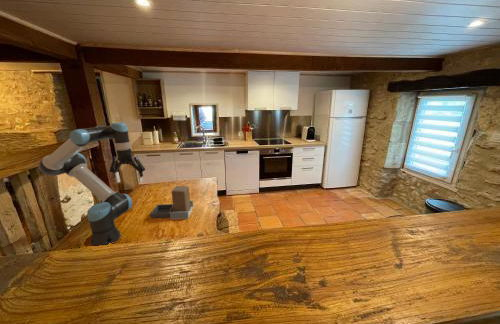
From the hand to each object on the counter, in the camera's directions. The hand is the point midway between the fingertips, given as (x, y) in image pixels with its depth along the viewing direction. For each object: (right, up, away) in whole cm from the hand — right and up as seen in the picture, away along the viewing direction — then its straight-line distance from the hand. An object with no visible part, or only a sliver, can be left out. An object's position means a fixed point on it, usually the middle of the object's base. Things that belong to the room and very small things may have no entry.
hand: (129, 182), depth 126 cm
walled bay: (+23, -27, +31) cm, 47 cm away
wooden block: (+23, -27, +30) cm, 47 cm away
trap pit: (+8, -27, +30) cm, 41 cm away
